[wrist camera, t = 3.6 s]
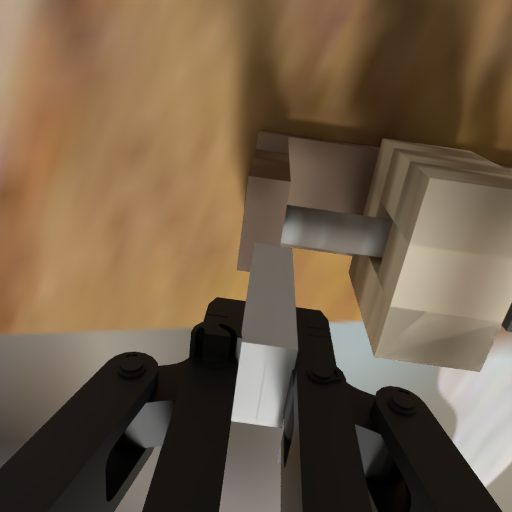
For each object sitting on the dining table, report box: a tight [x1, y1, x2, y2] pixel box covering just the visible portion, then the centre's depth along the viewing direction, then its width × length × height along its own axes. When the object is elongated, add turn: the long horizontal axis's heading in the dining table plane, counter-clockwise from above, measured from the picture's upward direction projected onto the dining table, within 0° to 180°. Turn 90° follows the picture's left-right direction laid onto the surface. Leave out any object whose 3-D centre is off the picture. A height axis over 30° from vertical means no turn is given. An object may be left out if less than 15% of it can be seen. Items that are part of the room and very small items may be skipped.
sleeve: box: [349, 138, 512, 372], centre depth 22 cm, size 5×9×9 cm, turn 173°
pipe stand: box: [237, 130, 512, 272], centre depth 24 cm, size 22×7×7 cm, turn 83°
